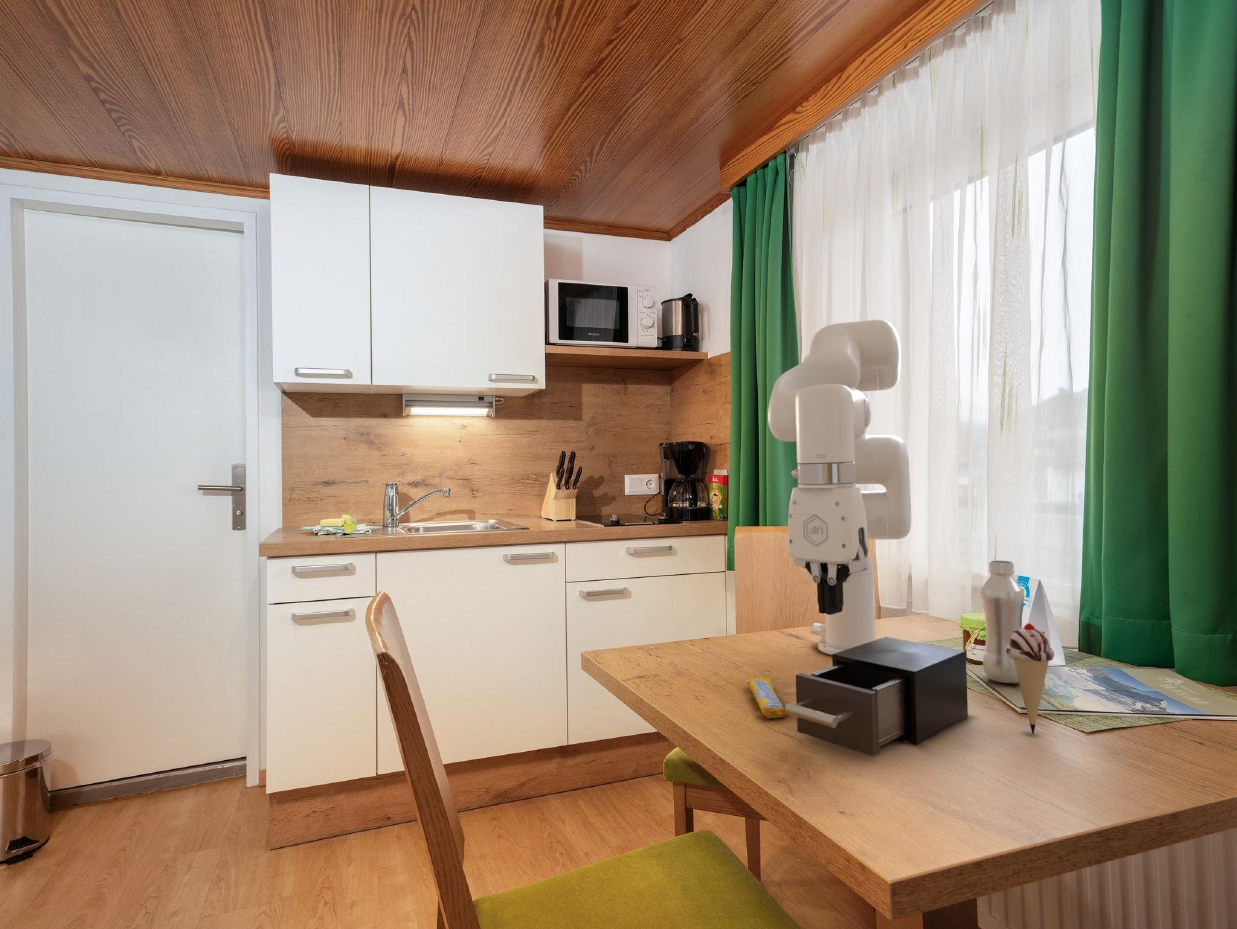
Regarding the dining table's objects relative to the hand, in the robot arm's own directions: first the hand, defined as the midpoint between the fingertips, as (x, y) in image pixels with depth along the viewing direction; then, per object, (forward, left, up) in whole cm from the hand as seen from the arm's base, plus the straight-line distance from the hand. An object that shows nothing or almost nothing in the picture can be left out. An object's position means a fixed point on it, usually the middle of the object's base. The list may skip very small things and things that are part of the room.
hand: (830, 612), depth 95 cm
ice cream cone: (+17, +21, -18) cm, 32 cm away
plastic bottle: (+5, +42, -18) cm, 45 cm away
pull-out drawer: (+2, +1, -16) cm, 16 cm away
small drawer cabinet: (+2, +14, -17) cm, 22 cm away
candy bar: (-16, +6, -18) cm, 24 cm away
